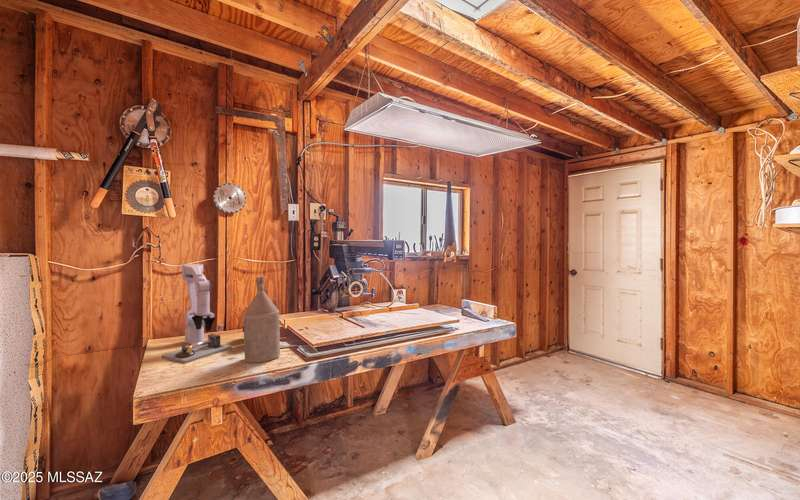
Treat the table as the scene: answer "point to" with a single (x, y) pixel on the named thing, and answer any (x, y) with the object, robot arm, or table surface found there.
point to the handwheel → (185, 353)
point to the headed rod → (196, 345)
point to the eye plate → (214, 341)
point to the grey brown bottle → (261, 327)
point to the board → (196, 353)
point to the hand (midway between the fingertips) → (203, 330)
